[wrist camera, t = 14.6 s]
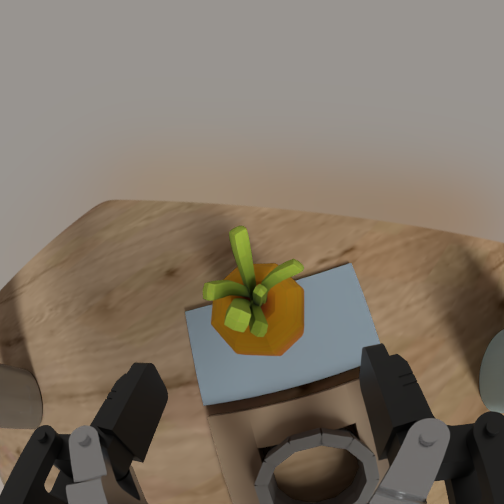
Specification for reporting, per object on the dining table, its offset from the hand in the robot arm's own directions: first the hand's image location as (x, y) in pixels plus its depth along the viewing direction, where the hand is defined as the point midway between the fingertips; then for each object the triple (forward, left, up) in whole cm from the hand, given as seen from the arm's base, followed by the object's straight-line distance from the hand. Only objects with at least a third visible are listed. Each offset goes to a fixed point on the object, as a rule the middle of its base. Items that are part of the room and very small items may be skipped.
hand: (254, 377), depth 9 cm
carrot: (+1, +3, -13) cm, 14 cm away
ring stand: (+1, -10, -13) cm, 17 cm away
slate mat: (+1, +3, -13) cm, 14 cm away
